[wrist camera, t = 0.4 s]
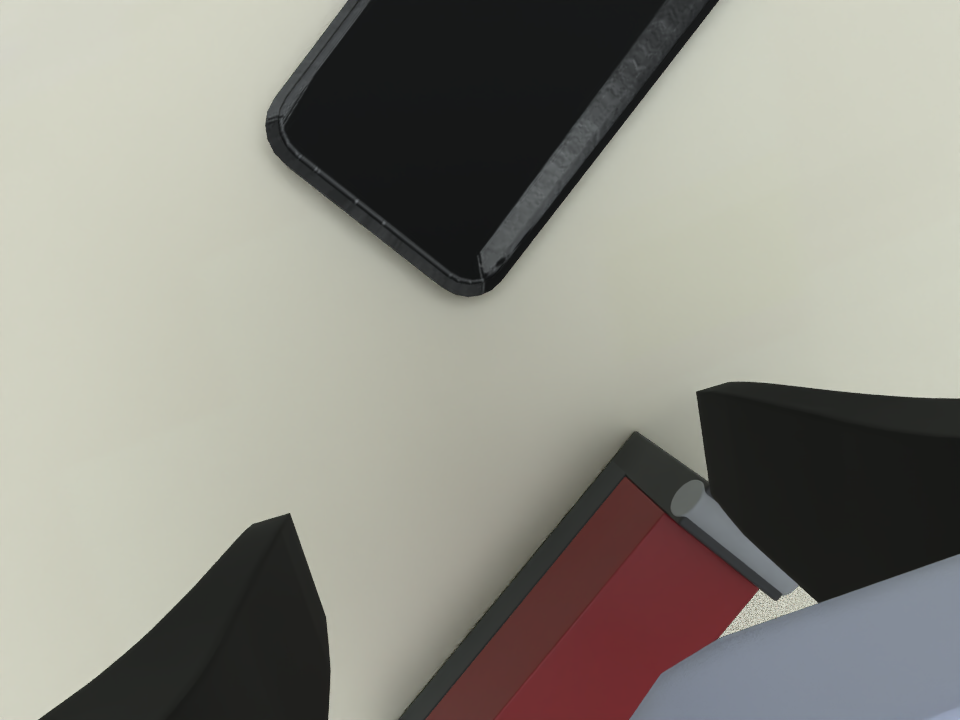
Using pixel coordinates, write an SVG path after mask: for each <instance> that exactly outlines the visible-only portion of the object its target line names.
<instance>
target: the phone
mask: <svg viewBox="0 0 960 720" xmlns="http://www.w3.org/2000/svg"><path fill="white" fill-rule="evenodd" d="M718 1H719V0H348V1H347V3H346V4H345V5H344V7H343V8H342V9H341V11H340V12H339V13H338V15H337V16H336V17H335V19H334V20H333V21H332V23H331V24H330V25H329V27H328V28H327V29H326V31H325V32H324V33H323V35H322V36H321V37H320V39H319V40H318V41H317V43H316V44H315V45H314V47H313V48H312V49H311V50H310V52H309V53H308V54H307V56H306V57H305V58H304V60H303V61H302V62H301V64H300V65H299V66H298V68H297V69H296V70H295V72H294V73H293V74H292V76H291V77H290V78H289V80H288V81H287V82H286V84H285V85H284V86H283V88H282V89H281V90H280V92H279V93H278V94H277V96H276V97H275V98H274V100H273V102H272V104H271V106H270V108H269V109H268V112H267V118H266V124H265V126H266V132H267V139H268V141H269V143H270V145H271V147H272V149H273V151H274V153H275V154H276V155H277V156H278V157H279V158H280V159H281V160H282V161H283V162H284V163H285V164H286V165H287V166H288V167H289V168H290V169H291V170H293V171H294V172H295V173H296V174H298V175H299V176H300V177H302V178H303V179H304V180H305V181H307V182H308V183H309V184H311V185H312V186H313V187H314V188H316V189H317V190H318V191H319V192H321V193H322V194H323V195H325V196H326V197H327V198H328V199H330V200H331V201H332V202H334V203H335V204H336V205H337V206H339V207H340V208H341V209H342V210H344V211H345V212H346V213H348V214H349V215H350V216H351V217H353V218H354V219H355V220H357V221H358V222H359V223H360V224H362V225H363V226H364V227H365V228H367V229H368V230H369V231H371V232H372V233H373V234H374V235H376V236H377V237H378V238H380V239H381V240H382V241H383V242H385V243H386V244H387V245H388V246H390V247H391V248H392V249H394V250H395V251H396V252H397V253H399V254H400V255H401V256H403V257H404V258H405V259H406V260H408V261H409V262H410V263H411V264H413V265H414V266H415V267H417V268H418V269H419V270H420V271H422V272H423V273H424V274H426V275H427V276H428V277H429V278H431V279H432V280H433V281H434V282H436V283H437V284H438V285H440V286H441V287H443V288H444V289H446V290H448V291H450V292H452V293H453V294H455V295H461V296H466V297H471V296H479V295H482V294H484V293H486V292H488V291H490V290H492V289H493V288H494V287H495V286H496V285H498V284H499V283H500V282H501V281H502V279H503V278H504V277H505V276H506V274H507V273H508V272H509V270H510V269H511V268H512V266H513V265H514V264H515V263H516V261H517V260H518V259H519V257H520V256H521V255H522V254H523V252H524V251H525V250H526V248H527V247H528V246H529V245H530V243H531V242H532V241H533V239H534V238H535V237H536V236H537V234H538V233H539V232H540V230H541V229H542V228H543V227H544V225H545V224H546V223H547V221H548V220H549V219H550V218H551V216H552V215H553V214H554V212H555V211H556V210H557V208H558V207H559V206H560V205H561V203H562V202H563V201H564V199H565V198H566V197H567V196H568V194H569V193H570V192H571V190H572V189H573V188H574V187H575V185H576V184H577V183H578V181H579V180H580V179H581V178H582V176H583V175H584V174H585V172H586V171H587V170H588V169H589V167H590V166H591V165H592V163H593V162H594V161H595V159H596V158H597V157H598V156H599V154H600V153H601V152H602V150H603V149H604V148H605V147H606V145H607V144H608V143H609V141H610V140H611V139H612V138H613V136H614V135H615V134H616V132H617V131H618V130H619V129H620V127H621V126H622V125H623V123H624V122H625V121H626V120H627V118H628V117H629V116H630V114H631V113H632V112H633V111H634V109H635V108H636V107H637V105H638V104H639V103H640V101H641V100H642V99H643V98H644V96H645V95H646V94H647V92H648V91H649V90H650V89H651V87H652V86H653V85H654V83H655V82H656V81H657V80H658V78H659V77H660V76H661V74H662V73H663V72H664V71H665V69H666V68H667V67H668V65H669V64H670V63H671V62H672V60H673V59H674V58H675V56H676V55H677V54H678V53H679V51H680V50H681V49H682V47H683V46H684V45H685V43H686V42H687V41H688V40H689V38H690V37H691V36H692V34H693V33H694V32H695V31H696V29H697V28H698V27H699V25H700V24H701V23H702V22H703V20H704V19H705V18H706V16H707V15H708V14H709V13H710V11H711V10H712V9H713V7H714V6H715V5H716V4H717V2H718Z"/></svg>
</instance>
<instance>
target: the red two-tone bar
mask: <svg viewBox="0 0 960 720" xmlns="http://www.w3.org/2000/svg"><path fill="white" fill-rule="evenodd" d="M797 587H798V584H797V583H796V582H795V581H794V580H792V579H791V578H790V577H789V576H788V575H787V574H786V573H785V572H783V571H782V570H781V569H780V568H779V567H778V566H777V565H776V564H775V563H774V562H772V561H771V560H770V559H769V558H768V557H767V556H766V555H765V554H764V553H763V552H762V551H760V550H759V549H758V548H757V547H756V546H755V545H754V544H753V543H752V542H751V541H750V540H749V539H748V538H747V537H745V536H744V535H743V533H742V532H741V531H740V530H739V529H738V528H737V526H736V525H735V524H734V523H733V522H732V521H731V519H730V518H729V517H728V516H727V514H726V513H725V512H724V511H723V509H722V508H721V507H720V505H719V504H718V503H717V502H716V500H715V499H714V498H713V497H712V495H711V492H710V485H709V482H708V481H707V480H705V479H704V478H702V477H701V476H700V475H698V474H697V473H695V472H694V471H692V470H691V469H690V468H688V467H687V466H685V465H684V464H682V463H681V462H680V461H678V460H677V459H675V458H674V457H673V456H671V455H670V454H668V453H667V452H665V451H664V450H663V449H661V448H660V447H658V446H657V445H655V444H654V443H653V442H651V441H650V440H648V439H647V438H645V437H644V436H643V435H641V434H640V433H638V432H634V433H633V434H632V436H631V437H630V438H629V439H628V440H627V442H626V443H625V444H624V445H623V447H622V448H621V449H620V450H619V451H618V453H617V454H616V455H615V456H614V458H613V459H612V460H611V462H610V463H609V464H608V465H607V466H606V468H605V469H604V470H603V471H602V472H601V474H600V475H599V476H598V477H597V479H596V480H595V481H594V482H593V483H592V485H591V486H590V487H589V488H588V490H587V491H586V492H585V493H584V494H583V496H582V497H581V498H580V499H579V501H578V502H577V503H576V504H575V505H574V507H573V508H572V509H571V510H570V512H569V513H568V514H567V515H566V516H565V518H564V519H563V520H562V521H561V522H560V524H559V525H558V526H557V527H556V529H555V530H554V531H553V532H552V533H551V535H550V536H549V537H548V538H547V540H546V541H545V542H544V543H543V544H542V546H541V547H540V548H539V549H538V551H537V552H536V553H535V554H534V555H533V557H532V558H531V559H530V560H529V561H528V563H527V564H526V565H525V566H524V568H523V569H522V570H521V571H520V572H519V574H518V575H517V576H516V577H515V579H514V580H513V581H512V582H511V583H510V585H509V586H508V587H507V588H506V590H505V591H504V592H503V593H502V594H501V596H500V597H499V598H498V599H497V601H496V602H495V603H494V604H493V605H492V607H491V608H490V609H489V610H488V611H487V613H486V614H485V615H484V616H483V618H482V619H481V620H480V621H479V622H478V624H477V625H476V626H475V627H474V629H473V630H472V631H471V632H470V633H469V635H468V636H467V637H466V638H465V640H464V641H463V642H462V643H461V644H460V646H459V647H458V648H457V649H456V651H455V652H454V653H453V654H452V655H451V657H450V658H449V659H448V660H447V661H446V663H445V664H444V665H443V666H442V668H441V669H440V670H439V671H438V672H437V674H436V675H435V676H434V677H433V679H432V680H431V681H430V682H429V683H428V685H427V686H426V687H425V688H424V690H423V691H422V692H421V693H420V694H419V696H418V697H417V698H416V699H415V700H414V702H413V703H412V704H411V705H410V707H409V708H408V709H407V710H406V711H405V713H404V714H403V715H402V716H401V718H400V719H399V720H629V719H630V718H631V716H632V715H633V713H634V712H635V711H636V709H637V708H638V706H639V705H640V703H641V702H642V700H643V699H644V698H645V696H646V695H647V693H648V692H649V690H650V689H651V687H652V686H653V684H654V683H655V682H656V680H657V679H658V677H659V676H660V674H662V673H663V672H664V671H666V670H668V669H669V668H671V667H673V666H674V665H676V664H677V663H679V662H681V661H682V660H684V659H686V658H687V657H689V656H691V655H692V654H694V653H696V652H697V651H699V650H700V649H702V648H704V647H705V646H707V645H709V644H710V643H712V642H714V641H715V640H717V639H718V638H719V637H720V636H721V634H722V633H723V632H724V631H725V630H726V628H727V627H728V626H729V625H730V624H731V622H732V621H733V620H734V619H735V618H736V616H737V615H738V614H739V613H740V612H741V610H742V609H743V608H744V607H745V606H746V604H747V603H748V602H749V601H750V600H751V598H752V597H753V596H754V595H755V594H756V592H757V591H758V590H759V589H760V590H761V591H763V592H764V593H765V594H767V595H768V596H769V597H770V598H772V599H773V600H775V601H777V600H778V599H779V598H780V597H781V596H784V595H787V594H789V593H791V592H792V591H794V590H795V589H796V588H797Z"/></svg>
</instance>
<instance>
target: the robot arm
mask: <svg viewBox="0 0 960 720" xmlns="http://www.w3.org/2000/svg"><path fill="white" fill-rule="evenodd" d="M696 395H697V401H698V408H699V415H700V422H701V429H702V436H703V443H704V450H705V457H706V464H707V471H708V478H709V485H710V492H711V495H712V497H713V498H714V499H715V500H716V502H717V503H718V504H719V505H720V507H721V508H722V509H723V511H724V512H725V513H726V514H727V516H728V517H729V518H730V519H731V521H732V522H733V523H734V524H735V525H736V526H737V528H738V529H739V530H740V531H741V532H742V533H743V535H744V536H745V537H747V538H748V539H749V540H750V541H751V542H752V543H753V544H754V545H755V546H756V547H757V548H758V549H759V550H760V551H762V552H763V553H764V554H765V555H766V556H767V557H768V558H769V559H770V560H771V561H772V562H774V563H775V564H776V565H777V566H778V567H779V568H780V569H781V570H782V571H783V572H785V573H786V574H787V575H788V576H789V577H790V578H791V579H792V580H794V581H795V582H796V583H797V584H798V585H799V586H800V587H801V588H802V589H804V590H805V591H806V592H807V593H808V594H809V595H810V596H811V597H812V598H814V599H815V600H816V601H817V602H818V604H815V605H812V606H809V607H806V608H804V609H801V610H798V611H795V612H792V613H789V614H786V615H783V616H781V617H778V618H775V619H772V620H769V621H766V622H763V623H761V624H758V625H755V626H752V627H749V628H746V629H743V630H741V631H738V632H735V633H732V634H729V635H726V636H723V637H721V638H719V639H717V640H715V641H714V642H712V643H710V644H709V645H707V646H705V647H704V648H702V649H700V650H699V651H697V652H696V653H694V654H692V655H691V656H689V657H687V658H686V659H684V660H682V661H681V662H679V663H677V664H676V665H674V666H673V667H671V668H669V669H668V670H666V671H664V672H663V673H662V674H660V676H659V677H658V679H657V680H656V682H655V683H654V684H653V686H652V687H651V689H650V690H649V692H648V693H647V695H646V696H645V698H644V699H643V700H642V702H641V703H640V705H639V706H638V708H637V709H636V711H635V712H634V713H633V715H632V716H631V718H630V719H629V720H960V399H947V398H913V397H898V396H884V395H871V394H860V393H850V392H840V391H831V390H822V389H814V388H805V387H797V386H788V385H779V384H769V383H757V382H727V383H724V384H721V385H717V386H714V387H710V388H707V389H704V390H700V391H697V392H696ZM329 693H330V657H329V644H328V633H327V623H326V616H325V613H324V610H323V607H322V604H321V602H320V599H319V596H318V593H317V590H316V587H315V584H314V581H313V578H312V575H311V573H310V570H309V567H308V564H307V561H306V558H305V555H304V552H303V549H302V547H301V544H300V541H299V538H298V535H297V532H296V529H295V526H294V523H293V521H292V518H291V515H290V513H288V514H285V515H282V516H278V517H275V518H272V519H268V520H265V521H262V522H258V523H255V524H252V525H251V526H250V527H249V528H247V529H246V530H245V531H244V532H243V533H242V534H241V535H240V536H239V537H238V539H237V540H236V541H235V542H234V543H233V544H232V545H231V546H230V547H229V548H228V550H227V551H226V552H225V553H224V554H223V555H222V556H221V557H220V559H219V560H218V561H217V562H216V563H215V564H214V565H213V566H212V567H211V568H210V570H209V571H208V572H207V573H206V574H205V575H204V576H203V577H202V578H201V580H200V581H199V582H198V583H197V584H196V585H195V586H194V587H193V588H192V589H191V590H190V591H189V592H188V593H187V594H186V595H185V596H184V597H183V598H182V599H181V600H180V601H179V602H178V603H177V604H176V605H175V606H174V608H173V609H172V610H171V611H170V612H169V613H168V614H167V615H166V616H165V617H164V618H163V619H162V620H161V621H160V622H159V623H158V624H157V625H156V626H155V627H154V628H153V629H152V630H151V631H149V632H148V633H147V634H146V635H145V636H144V637H143V638H142V639H141V640H140V641H139V642H137V643H136V644H135V645H134V646H133V647H132V648H131V649H130V650H128V651H127V652H126V653H125V654H124V655H123V656H121V657H120V658H119V659H118V660H117V661H115V662H114V663H113V664H112V665H111V666H109V667H108V668H107V669H106V670H105V671H103V672H102V673H101V674H100V675H98V676H97V677H96V678H95V679H93V680H92V681H91V682H90V683H88V684H87V685H86V686H84V687H83V688H82V689H80V690H79V691H77V692H76V693H75V694H73V695H72V696H70V697H69V698H68V699H66V700H65V701H64V702H62V703H61V704H59V705H58V706H57V707H55V708H54V709H52V710H51V711H50V712H48V713H47V714H45V715H44V716H43V717H41V718H40V719H39V720H328V712H329Z"/></svg>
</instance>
